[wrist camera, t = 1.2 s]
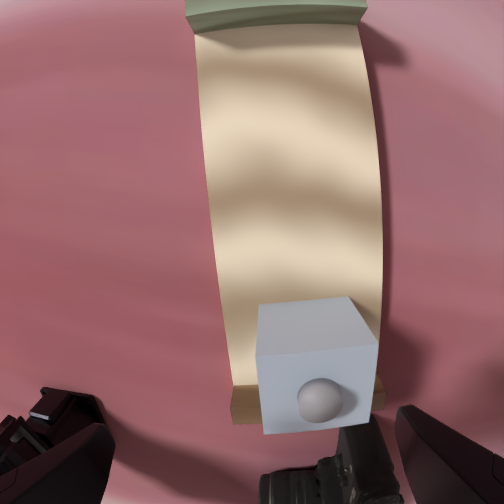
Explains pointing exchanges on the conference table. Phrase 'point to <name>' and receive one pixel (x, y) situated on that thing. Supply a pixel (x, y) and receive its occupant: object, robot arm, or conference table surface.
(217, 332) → the conference table surface
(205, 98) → the track
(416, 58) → the conference table surface
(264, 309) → the block
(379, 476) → the camera
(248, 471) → the conference table surface
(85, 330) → the conference table surface
